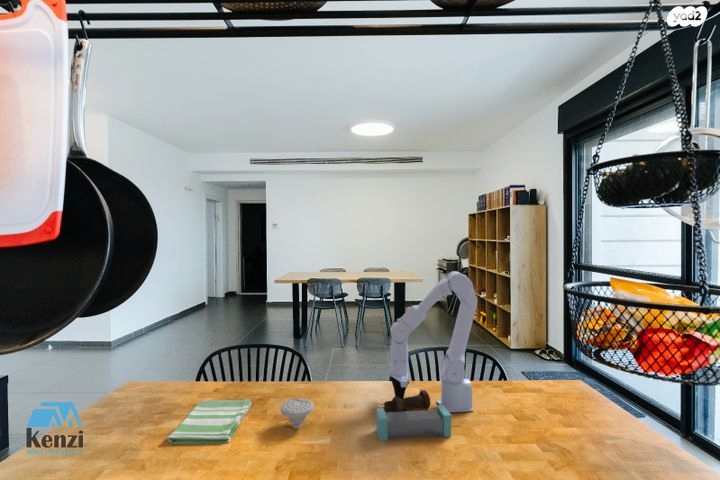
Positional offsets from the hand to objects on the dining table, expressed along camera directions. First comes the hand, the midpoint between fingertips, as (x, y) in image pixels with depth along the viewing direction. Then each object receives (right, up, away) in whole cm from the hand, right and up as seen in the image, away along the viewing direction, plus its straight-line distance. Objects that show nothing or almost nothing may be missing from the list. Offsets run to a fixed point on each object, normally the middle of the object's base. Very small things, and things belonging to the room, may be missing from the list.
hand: (399, 400), depth 118 cm
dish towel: (-57, -2, -11) cm, 58 cm away
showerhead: (-32, -2, -14) cm, 35 cm away
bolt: (+2, -2, -3) cm, 4 cm away
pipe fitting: (+2, -2, -17) cm, 17 cm away
